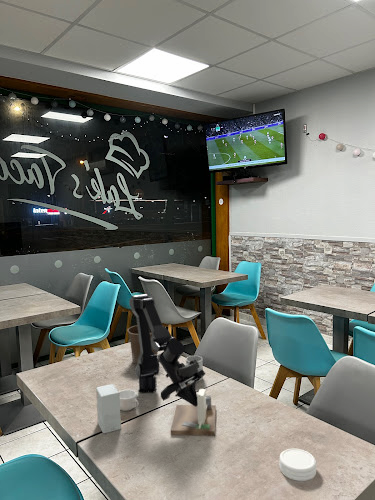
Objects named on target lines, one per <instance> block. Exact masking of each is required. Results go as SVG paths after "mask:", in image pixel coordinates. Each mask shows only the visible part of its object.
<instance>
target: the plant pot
mask: <svg viewBox="0 0 375 500" xmlns="http://www.w3.org/2000/svg"><path fill="white" fill-rule="evenodd" d="M126 330H127V334H128V339H129V341H130V342H129V343H130V351H131V358H132V363H133V364H135V365H137V364H138V357H139V355H140V353H141V351H140V343H139V335H138V326H137V325H133V326H131V327H128V328H127V329H126ZM149 331H150V338H151V337H152V332H151V329H150V327H149ZM151 346H152V345H151ZM152 351H153V353H154V354H155V355H157V356H158V355H159V354H158V353H159V351H158V352H157V351H154V349H153V348H152Z"/></svg>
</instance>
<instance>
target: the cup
mask: <svg viewBox="0 0 375 500" xmlns="http://www.w3.org/2000/svg"><path fill="white" fill-rule="evenodd" d="M192 360H196V361H197V362H198V364H199V368H198V369H203V368H204V366H203V365H204V364H203V357H202V356H200V355H189V356H187V357H186V358H185V364H184V365H185V366H187V365H189V364H190V361H192ZM203 370H204V369H203ZM203 379H204V376H203V377H202V378H201V379H200V380H199V381H198V382H200V381H202V380H203Z"/></svg>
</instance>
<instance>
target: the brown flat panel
mask: <svg viewBox="0 0 375 500" xmlns="http://www.w3.org/2000/svg"><path fill="white" fill-rule="evenodd" d="M216 412H217V407H216V404H215V405H212V404H211V409H209V410H206V420H205V423H204V425H203V424H202V425H201V428H200V429H199V424H198V406H196V407H195V406H193V405H192V404H176V405H175V410H174V414H173V418H172V423H171V427H170V435H171V436H173V435H174V436H206V437H207V436H209V437H210V436H213V437H216V415H217V414H216Z"/></svg>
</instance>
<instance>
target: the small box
mask: <svg viewBox="0 0 375 500" xmlns="http://www.w3.org/2000/svg"><path fill="white" fill-rule="evenodd" d="M95 391H96V410H97V413H96V416H97V424H98V426H99V428H100V430H101V432H102V433H103V434H107V433H111V432H114V431H119V430H121V429H122V421H121V419H122V418H121V409H120V394H119V391H120V390H118V388H117V387H116V386H115V384H114V383H111V384H107V385H106V384H105V385H102V386H97V387H96V388H95Z"/></svg>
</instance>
